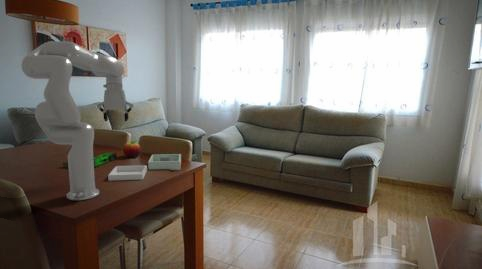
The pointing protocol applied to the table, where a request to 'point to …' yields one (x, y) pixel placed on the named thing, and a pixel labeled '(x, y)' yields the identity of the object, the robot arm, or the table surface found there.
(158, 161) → the bin
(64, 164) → the submachine gun
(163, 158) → the stone block
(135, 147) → the fruit
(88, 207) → the table surface
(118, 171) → the tub
